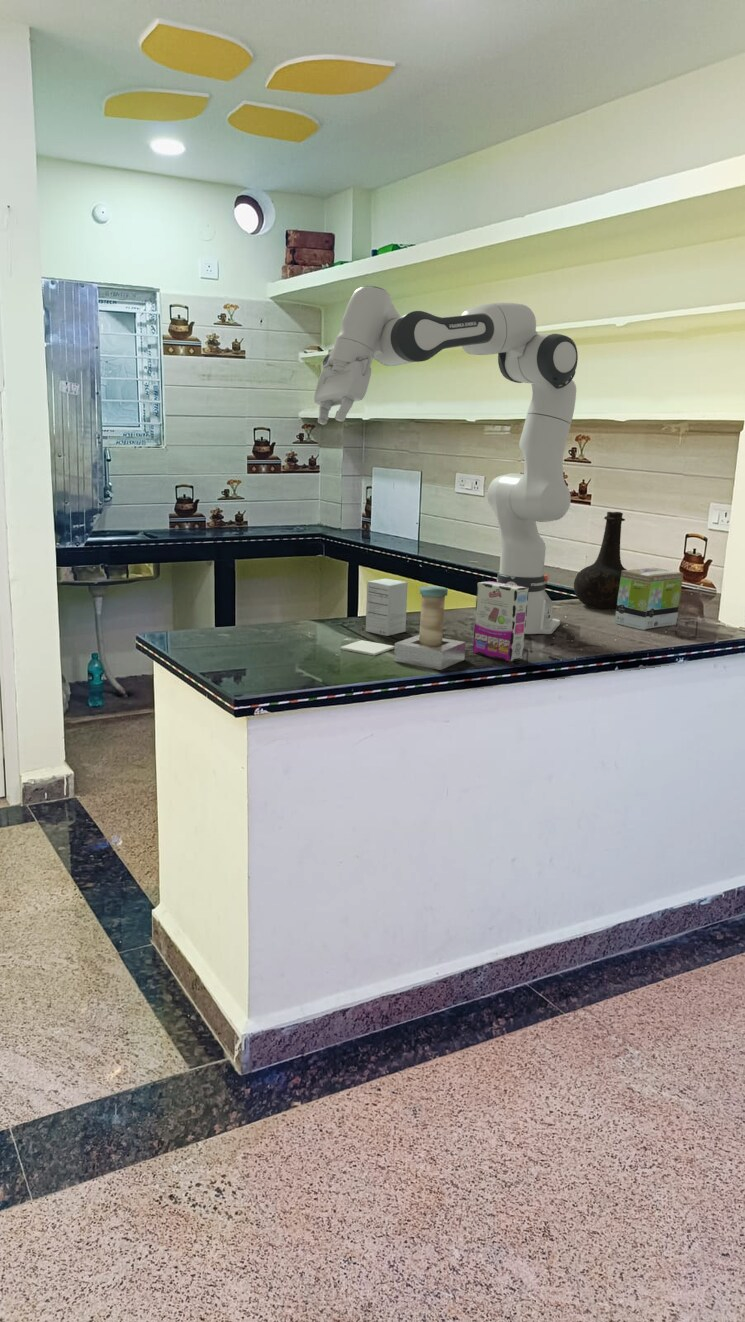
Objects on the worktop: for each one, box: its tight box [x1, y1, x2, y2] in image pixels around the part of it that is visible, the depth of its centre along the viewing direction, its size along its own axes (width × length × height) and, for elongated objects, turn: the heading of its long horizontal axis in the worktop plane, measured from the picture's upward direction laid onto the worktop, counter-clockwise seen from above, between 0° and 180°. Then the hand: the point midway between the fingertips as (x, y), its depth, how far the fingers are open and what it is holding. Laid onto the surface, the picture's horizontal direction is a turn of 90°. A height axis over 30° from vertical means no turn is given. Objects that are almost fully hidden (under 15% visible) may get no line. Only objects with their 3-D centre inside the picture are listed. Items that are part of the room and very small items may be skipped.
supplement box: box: [365, 578, 409, 637], centre depth 226 cm, size 7×7×13 cm
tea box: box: [614, 567, 684, 631], centre depth 248 cm, size 15×10×15 cm, turn 129°
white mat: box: [340, 639, 395, 656], centre depth 210 cm, size 9×9×1 cm
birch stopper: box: [418, 585, 448, 648], centre depth 200 cm, size 6×6×16 cm
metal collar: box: [393, 633, 466, 671], centre depth 202 cm, size 11×11×4 cm
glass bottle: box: [573, 511, 628, 611], centre depth 268 cm, size 18×18×28 cm
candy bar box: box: [472, 580, 529, 663], centre depth 207 cm, size 11×5×16 cm, turn 45°
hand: (330, 422), depth 198 cm, fingers open, 8 cm apart
